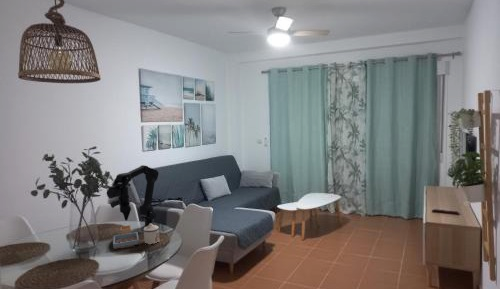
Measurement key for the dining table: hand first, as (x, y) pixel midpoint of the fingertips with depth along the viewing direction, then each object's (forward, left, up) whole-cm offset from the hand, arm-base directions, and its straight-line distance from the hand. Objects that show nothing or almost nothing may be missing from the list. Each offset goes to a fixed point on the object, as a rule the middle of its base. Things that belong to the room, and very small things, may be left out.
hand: (125, 218), depth 211 cm
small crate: (-1, -1, -12) cm, 12 cm away
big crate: (+11, -1, -12) cm, 17 cm away
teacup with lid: (+15, +14, -12) cm, 24 cm away
